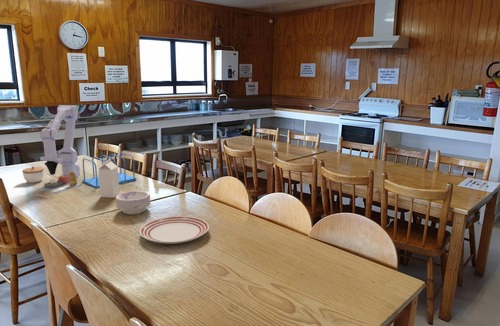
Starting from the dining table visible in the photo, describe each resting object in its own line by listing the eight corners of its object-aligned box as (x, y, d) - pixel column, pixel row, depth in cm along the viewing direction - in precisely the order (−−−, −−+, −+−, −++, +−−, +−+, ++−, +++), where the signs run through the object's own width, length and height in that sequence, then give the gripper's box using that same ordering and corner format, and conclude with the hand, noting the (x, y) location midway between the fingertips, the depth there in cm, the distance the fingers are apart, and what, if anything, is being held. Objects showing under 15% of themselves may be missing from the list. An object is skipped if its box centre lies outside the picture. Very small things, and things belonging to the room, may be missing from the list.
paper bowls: (134, 203, 188) (134, 188, 186) (157, 209, 180) (156, 193, 179) (109, 212, 175) (108, 196, 173) (132, 219, 168) (131, 202, 166)
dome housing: (55, 184, 217) (54, 180, 216) (63, 186, 215) (63, 181, 214) (44, 187, 211) (44, 183, 210) (53, 189, 208) (53, 185, 208)
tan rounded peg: (73, 183, 217) (72, 170, 215) (78, 184, 216) (77, 171, 214) (68, 185, 214) (67, 171, 212) (73, 185, 213) (71, 172, 211)
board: (63, 182, 222) (63, 181, 222) (84, 185, 216) (84, 184, 216) (36, 190, 206) (36, 189, 206) (57, 194, 200) (57, 193, 200)
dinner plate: (137, 226, 161) (136, 219, 160) (200, 218, 171) (200, 211, 170) (143, 254, 136) (143, 246, 135) (217, 243, 146) (216, 235, 145)
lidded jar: (38, 185, 216) (36, 169, 214) (20, 184, 216) (17, 168, 214) (48, 179, 226) (46, 164, 224) (30, 179, 226) (29, 164, 224)
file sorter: (96, 189, 209) (93, 162, 206) (82, 183, 221) (79, 157, 217) (136, 180, 227) (135, 155, 224) (121, 175, 239) (120, 151, 235)
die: (63, 181, 220) (62, 174, 219) (69, 182, 220) (69, 175, 219) (59, 183, 217) (58, 176, 216) (65, 184, 216) (64, 177, 215)
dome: (54, 182, 215) (53, 178, 214) (59, 182, 213) (59, 178, 213) (48, 183, 211) (47, 179, 211) (53, 184, 210) (53, 180, 209)
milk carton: (119, 193, 202) (117, 159, 198) (113, 198, 195) (111, 162, 191) (106, 193, 203) (104, 158, 198) (100, 197, 196) (97, 161, 192)
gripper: (34, 150, 207) (37, 174, 210) (53, 153, 202) (56, 177, 205) (45, 148, 213) (48, 171, 216) (64, 150, 208) (67, 174, 211)
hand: (52, 174), depth 211 cm, fingers closed
